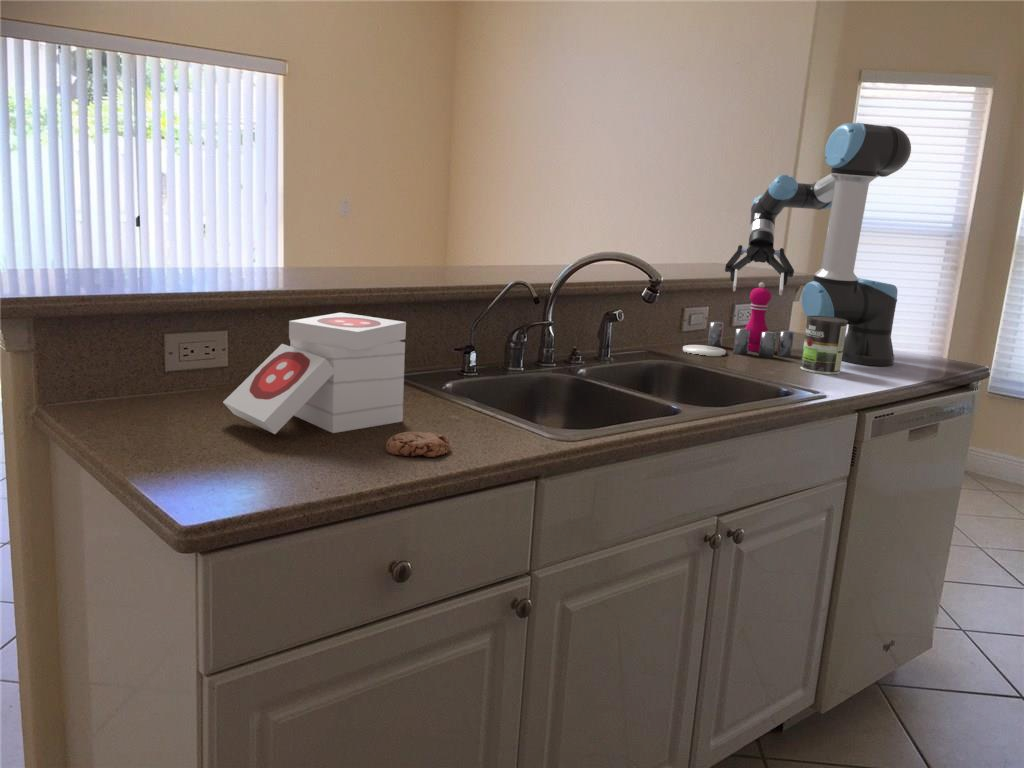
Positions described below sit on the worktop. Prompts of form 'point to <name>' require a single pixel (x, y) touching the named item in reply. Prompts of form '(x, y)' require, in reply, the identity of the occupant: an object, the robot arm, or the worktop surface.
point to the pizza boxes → (329, 376)
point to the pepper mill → (758, 316)
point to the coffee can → (823, 345)
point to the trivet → (704, 350)
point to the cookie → (418, 444)
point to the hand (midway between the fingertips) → (757, 290)
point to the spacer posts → (743, 341)
